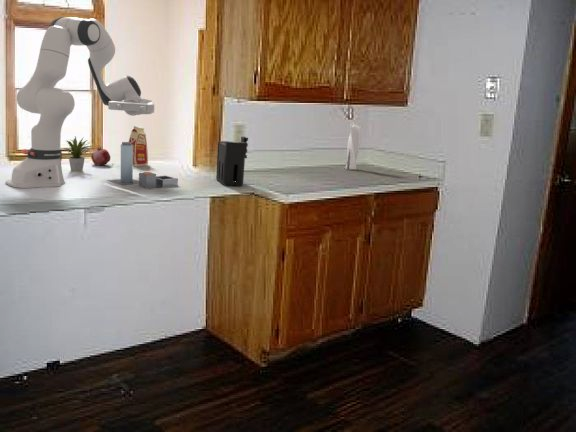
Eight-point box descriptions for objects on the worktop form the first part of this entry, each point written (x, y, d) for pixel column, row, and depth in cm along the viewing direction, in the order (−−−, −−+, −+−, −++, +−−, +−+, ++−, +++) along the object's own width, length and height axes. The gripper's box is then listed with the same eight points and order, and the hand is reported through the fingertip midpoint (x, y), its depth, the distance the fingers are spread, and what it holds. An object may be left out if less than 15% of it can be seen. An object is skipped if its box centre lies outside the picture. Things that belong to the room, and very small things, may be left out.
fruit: (109, 163, 304) (109, 144, 302) (111, 166, 296) (111, 147, 294) (90, 163, 301) (90, 143, 299) (91, 166, 292) (92, 146, 290)
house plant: (82, 175, 269) (82, 139, 265) (54, 171, 271) (54, 136, 267) (97, 170, 282) (97, 136, 279) (70, 167, 284) (70, 133, 281)
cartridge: (125, 183, 254) (125, 143, 250) (118, 181, 257) (118, 142, 253) (134, 182, 258) (135, 143, 253) (128, 180, 261) (128, 141, 256)
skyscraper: (341, 167, 360) (346, 121, 354) (353, 168, 363) (358, 122, 356) (346, 170, 352) (352, 122, 346) (359, 170, 355) (364, 123, 348)
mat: (122, 187, 249) (122, 185, 249) (106, 182, 256) (106, 180, 256) (146, 185, 258) (146, 182, 258) (129, 180, 266) (129, 178, 265)
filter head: (148, 191, 246) (149, 175, 245) (134, 187, 252) (134, 171, 251) (178, 187, 258) (179, 173, 257) (164, 183, 264) (164, 169, 263)
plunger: (146, 178, 248) (146, 173, 248) (142, 176, 250) (142, 172, 250) (152, 177, 251) (153, 172, 250) (148, 176, 253) (148, 171, 252)
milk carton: (135, 166, 304) (136, 127, 299) (124, 163, 309) (125, 124, 305) (149, 164, 311) (150, 126, 307) (138, 162, 317) (139, 124, 312)
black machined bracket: (224, 186, 270) (227, 138, 265) (213, 178, 288) (216, 133, 283) (249, 187, 274) (252, 139, 269) (236, 178, 293) (239, 134, 288)
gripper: (109, 97, 272) (106, 98, 259) (155, 100, 276) (153, 102, 263) (109, 111, 274) (105, 113, 260) (154, 114, 277) (153, 116, 264)
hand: (130, 107), depth 262 cm, fingers open, 8 cm apart
